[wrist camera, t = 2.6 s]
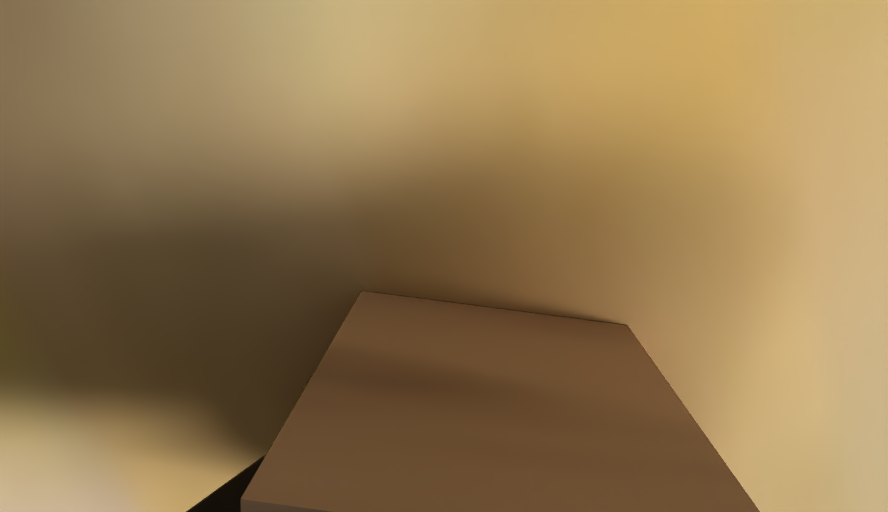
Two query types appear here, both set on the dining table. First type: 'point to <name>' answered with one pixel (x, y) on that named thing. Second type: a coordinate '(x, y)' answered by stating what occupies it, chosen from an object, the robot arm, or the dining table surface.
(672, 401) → the walnut block
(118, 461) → the dining table surface
